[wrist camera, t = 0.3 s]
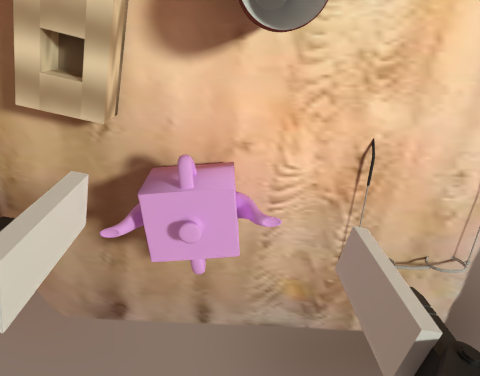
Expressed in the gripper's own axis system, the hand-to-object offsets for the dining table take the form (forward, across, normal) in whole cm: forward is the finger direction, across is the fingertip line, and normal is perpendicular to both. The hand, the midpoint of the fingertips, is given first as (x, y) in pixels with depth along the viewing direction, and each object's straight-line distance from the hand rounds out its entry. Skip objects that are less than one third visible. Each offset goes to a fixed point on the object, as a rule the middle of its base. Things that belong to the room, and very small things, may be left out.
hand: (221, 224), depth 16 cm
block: (+27, -17, +6) cm, 33 cm away
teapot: (+27, -1, -11) cm, 29 cm away
